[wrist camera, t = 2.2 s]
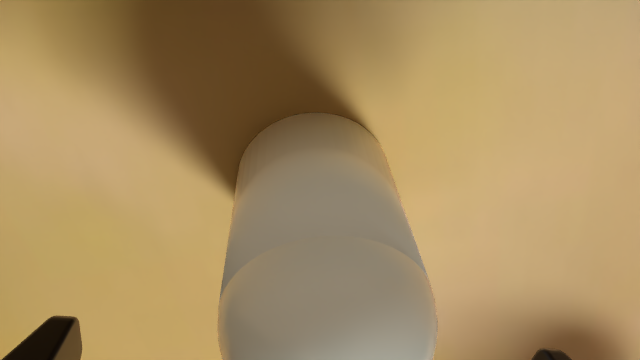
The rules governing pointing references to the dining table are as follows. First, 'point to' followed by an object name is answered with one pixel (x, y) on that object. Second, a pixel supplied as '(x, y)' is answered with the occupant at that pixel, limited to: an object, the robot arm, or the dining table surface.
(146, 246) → the dining table surface
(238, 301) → the glossy white capsule
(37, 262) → the dining table surface
